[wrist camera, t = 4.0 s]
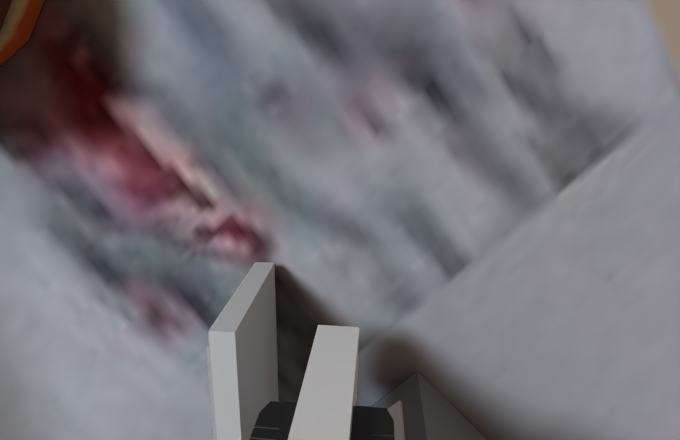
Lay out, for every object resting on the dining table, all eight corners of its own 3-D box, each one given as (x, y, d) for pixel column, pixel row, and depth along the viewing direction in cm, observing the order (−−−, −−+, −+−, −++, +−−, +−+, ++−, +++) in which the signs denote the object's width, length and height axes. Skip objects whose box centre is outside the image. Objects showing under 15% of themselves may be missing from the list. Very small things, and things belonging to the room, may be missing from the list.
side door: (260, 472, 22) (220, 608, 16) (250, 260, 19) (196, 337, 13) (283, 474, 22) (250, 610, 16) (277, 262, 19) (234, 339, 13)
